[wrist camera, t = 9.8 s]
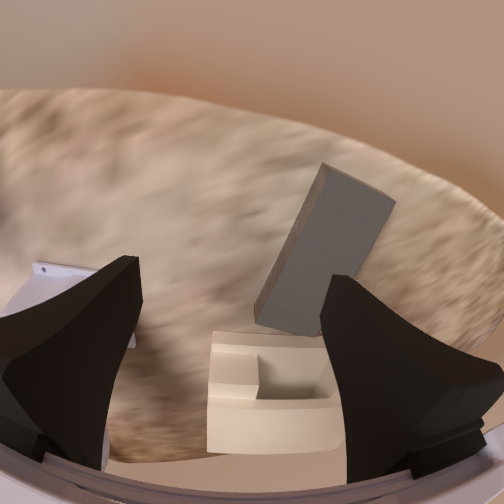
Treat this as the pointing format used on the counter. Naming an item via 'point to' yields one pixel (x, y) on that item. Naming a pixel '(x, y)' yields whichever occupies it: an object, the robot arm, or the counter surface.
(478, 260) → the counter surface
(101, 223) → the counter surface
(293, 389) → the slotted box
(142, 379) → the counter surface
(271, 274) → the gray block
